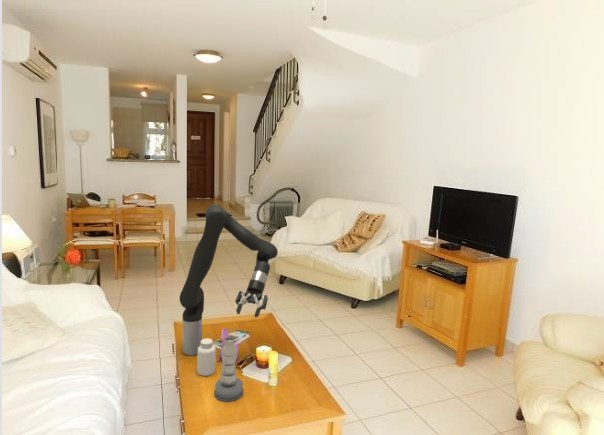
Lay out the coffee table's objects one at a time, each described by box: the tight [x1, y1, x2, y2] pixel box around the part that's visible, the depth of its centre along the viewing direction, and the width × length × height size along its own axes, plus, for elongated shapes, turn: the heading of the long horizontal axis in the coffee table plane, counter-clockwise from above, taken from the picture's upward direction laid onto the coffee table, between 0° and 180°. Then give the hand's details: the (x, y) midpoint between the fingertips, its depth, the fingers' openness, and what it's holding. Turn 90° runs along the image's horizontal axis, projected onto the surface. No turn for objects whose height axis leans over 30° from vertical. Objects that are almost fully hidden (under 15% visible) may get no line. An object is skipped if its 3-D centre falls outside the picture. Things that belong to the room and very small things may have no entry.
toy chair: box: [217, 328, 240, 362], centre depth 198 cm, size 8×9×15 cm
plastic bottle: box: [219, 336, 238, 386], centre depth 171 cm, size 6×7×20 cm
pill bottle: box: [196, 337, 217, 377], centre depth 187 cm, size 8×8×15 cm
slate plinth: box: [213, 377, 244, 403], centre depth 172 cm, size 12×12×4 cm
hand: (246, 315), depth 185 cm, fingers open, 8 cm apart
